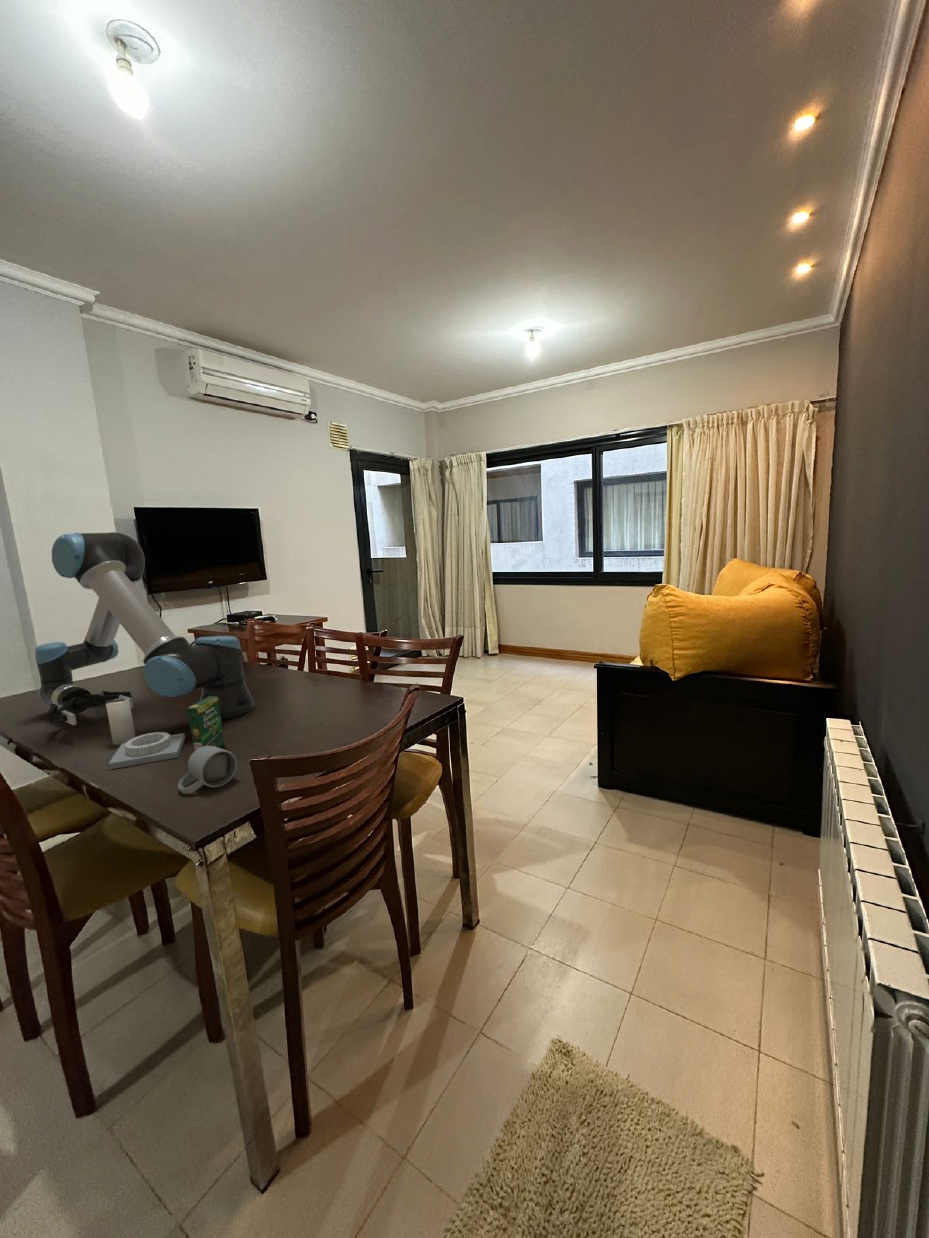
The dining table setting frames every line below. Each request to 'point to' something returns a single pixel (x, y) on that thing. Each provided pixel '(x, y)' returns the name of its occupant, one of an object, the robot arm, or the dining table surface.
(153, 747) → the hub
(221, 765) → the ceramic mug
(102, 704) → the robot arm
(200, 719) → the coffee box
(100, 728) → the dining table surface
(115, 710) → the grey cylindrical peg
